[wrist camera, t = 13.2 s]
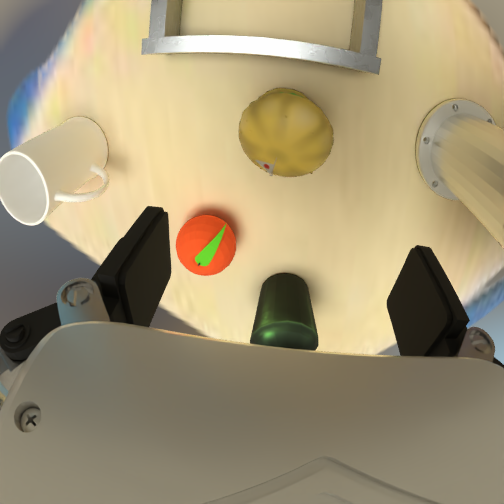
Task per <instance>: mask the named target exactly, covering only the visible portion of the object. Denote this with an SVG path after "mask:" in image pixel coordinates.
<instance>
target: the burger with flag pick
mask: <svg viewBox="0 0 504 504" xmlns="http://www.w3.org/2000/svg"><path fill="white" fill-rule="evenodd" d="M239 139H240V143H241V146H242V148H243V150H244V152H245V153H246V155H247V156H248V157H249V159H250V160H251V161H252V162H253V163H254V164H255V165H257V166H258V167H260V169H263V170H265V171H266V172H268V173H269V174H270V176H272V174H274V175H278V176H283V177H297V176H302V175H305V174H308V173H311V174H312V172H313V171H315V170H316V169H317V168H319V167H320V166H321V165H322V164H323V163H324V162H325V160H326V159H327V157H328V156H329V154H330V152H331V148H332V145H333V141H334V140H333V128H332V126H331V125H330V123H329V121H328V119H327V117H326V116H325V115H324V113H323V111H322V110H321V109H320V108H319V107H317V106H316V105H315V104H314V103H313V102H312V101H310V100H309V99H308V98H307V97H306V96H305V95H304V94H303V93H301V92H298V91H296V90H293V89H285V88H276V89H273V90H271V91H267V92H266V93H265V94H264V95H263V96H261V97H259V99H258V100H256V101H253V102H251V103H250V105H249V107H247V108H246V109H245V110H244V111H243V113H242V118H241V121H240V123H239Z"/></svg>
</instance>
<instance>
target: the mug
mask: <svg viewBox="0 0 504 504" xmlns="http://www.w3.org/2000/svg"><path fill="white" fill-rule="evenodd" d="M107 158H108V145H107V141H106V138H105V135H104V133H103V131H102V130H101V128H100V127H99V126H98V125H97V124H96V123H95V122H94V121H92V120H90V119H88V118H86V117H73V118H70V119H68V120H66V121H65V122H64V123H63V124H61V125H59V126H57V127H55V128H53V129H51V130H49V131H47V132H45V133H43V134H41V135H39V136H37V137H35V138H33V139H31V140H29V141H27V142H25V143H23V144H22V145H20V146H18V147H16V148H14V149H13V150H11V151H9V152H7V153H6V154H5V155H3V157H2V158H1V159H0V199H1V201H2V203H3V205H4V207H5V208H6V210H7V211H8V212H9V213H10V215H11V216H12V217H14V218H15V219H16V220H17V221H19V222H21V223H23V224H26V225H37V224H39V223H41V222H42V221H43V220H44V219H45V218H46V217H47V216H48V215H50V214H51V213H52V212H53V211H54V210H55V209H56V208H57V207H58V206H59V205H60V204H62V203H63V202H83V201H88V200H92V199H94V198H97V197H99V196H100V195H102V194H103V193H104V192H105V191H106V189H107V187H108V185H109V176H108V174H107V172H106V171H105V170H104V167H105V165H106V162H107ZM98 175H99V176H101V178H102V179H103V181H104V185H103V186H102V187H101V188H99V189H98V190H96V191H93V192H89V193H83V194H74V192H75V191H76V190H78V189H79V188H80V187H81V186H82V185H84V184H85V183H86V182H87V181H89V180H90V179H93V178H95V177H96V176H98Z"/></svg>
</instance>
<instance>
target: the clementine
mask: <svg viewBox="0 0 504 504" xmlns="http://www.w3.org/2000/svg"><path fill="white" fill-rule="evenodd" d="M176 250H177V255H178V258H179V260H180V262H181V263H182V264H183V265H184V266H185V267H186V268H187V269H188V270H189V271H191V272H193V273H195V274H198V275H204V276H208V275H214V274H217V273H219V272H221V271H223V270H224V269H225V268H226V267H227V266H228V265H229V264H230V263H231V261H232V260H233V257H234V255H235V251H236V239H235V236H234V233H233V231H232V229H231V228H230V227H229V225H228V224H227V223H226V222H225V221H223V220H222V219H220V218H218V217H216V216H211V215H201V216H197V217H194V218H192V219H190V220H189V221H187V222H186V223H185V224H184V226H183V227H182V228H181V229H180V231H179V233H178V236H177V239H176Z"/></svg>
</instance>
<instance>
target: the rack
mask: <svg viewBox="0 0 504 504" xmlns="http://www.w3.org/2000/svg"><path fill="white" fill-rule="evenodd" d="M181 9H182V0H152V2H151V13H150V27H149V38H146V39H142V54H141V55H143V54H181V53H223V54H244V55H258V56H270V57H279V58H288V59H295V60H302V61H309V62H315V63H321V64H327V65H332V66H337V67H342V68H347V69H352V70H356V71H361V72H367V73H373V74H378V75H379V70H380V63H381V58H377V57H376V54H377V46H378V38H379V30H380V21H381V11H382V0H355V2H354V12H353V22H352V31H351V39H350V47H349V50H344V49H339V48H334V47H329V46H324V45H318V44H312V43H305V42H298V41H291V40H283V39H273V38H262V37H248V36H224V35H194V36H179V34H180V21H181Z"/></svg>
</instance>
